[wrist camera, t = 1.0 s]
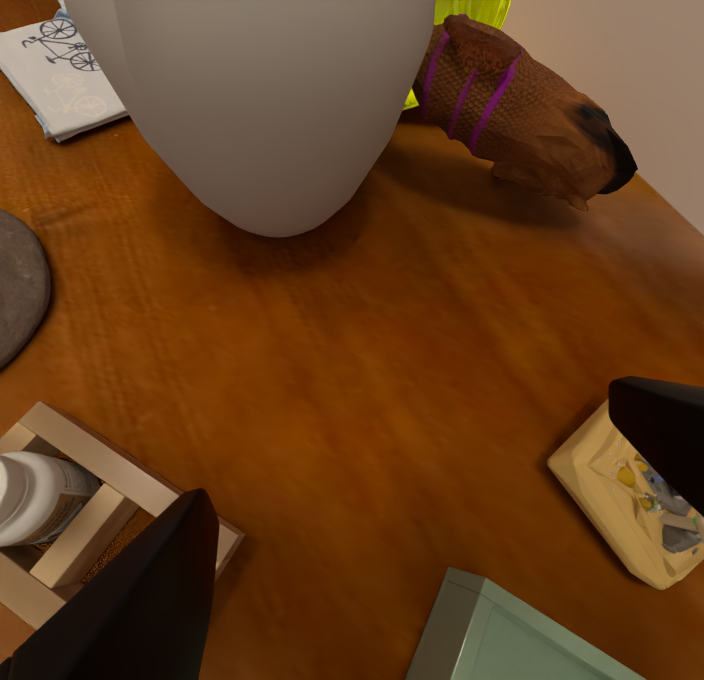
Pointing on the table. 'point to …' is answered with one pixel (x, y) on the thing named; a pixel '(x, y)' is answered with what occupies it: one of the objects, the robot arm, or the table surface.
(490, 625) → the basin
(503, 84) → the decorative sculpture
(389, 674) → the table surface
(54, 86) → the open notebook
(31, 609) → the rack
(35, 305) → the sculpture
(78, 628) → the robot arm
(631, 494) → the miniature beach sign
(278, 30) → the vase
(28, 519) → the pill bottle
